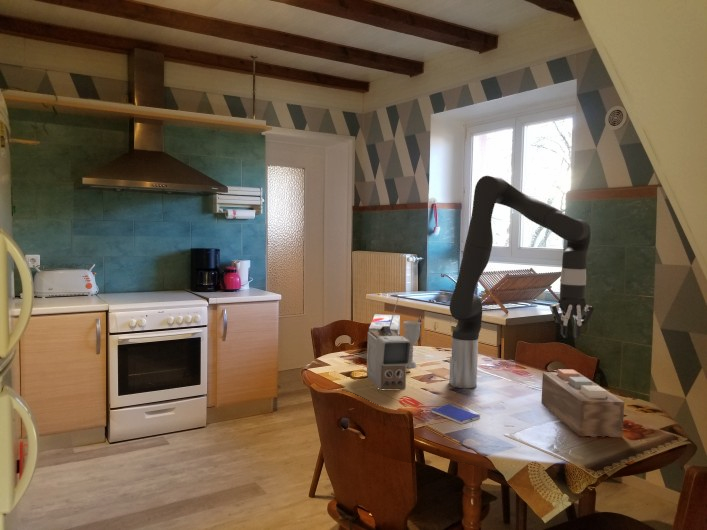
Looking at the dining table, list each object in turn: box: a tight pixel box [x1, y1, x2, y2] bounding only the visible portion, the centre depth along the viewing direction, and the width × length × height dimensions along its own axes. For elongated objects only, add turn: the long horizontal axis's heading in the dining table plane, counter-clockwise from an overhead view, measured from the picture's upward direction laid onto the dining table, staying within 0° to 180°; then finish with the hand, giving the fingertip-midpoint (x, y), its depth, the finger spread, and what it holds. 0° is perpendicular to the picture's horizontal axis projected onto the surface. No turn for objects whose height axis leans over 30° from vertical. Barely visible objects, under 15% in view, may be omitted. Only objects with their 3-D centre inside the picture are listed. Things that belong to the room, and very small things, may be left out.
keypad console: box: [540, 371, 625, 438], centre depth 170 cm, size 12×30×10 cm, turn 1°
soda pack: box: [368, 313, 401, 335], centre depth 256 cm, size 41×13×14 cm, turn 174°
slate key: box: [569, 376, 593, 389], centre depth 170 cm, size 5×5×5 cm
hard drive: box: [431, 403, 481, 425], centre depth 171 cm, size 2×8×12 cm
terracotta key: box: [557, 368, 581, 380], centre depth 179 cm, size 5×5×5 cm
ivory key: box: [581, 385, 606, 398], centre depth 161 cm, size 5×5×5 cm
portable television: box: [366, 297, 412, 390], centre depth 202 cm, size 12×24×30 cm, turn 12°
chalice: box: [403, 320, 422, 369], centre depth 227 cm, size 7×7×18 cm
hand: (570, 336), depth 178 cm, fingers open, 3 cm apart
